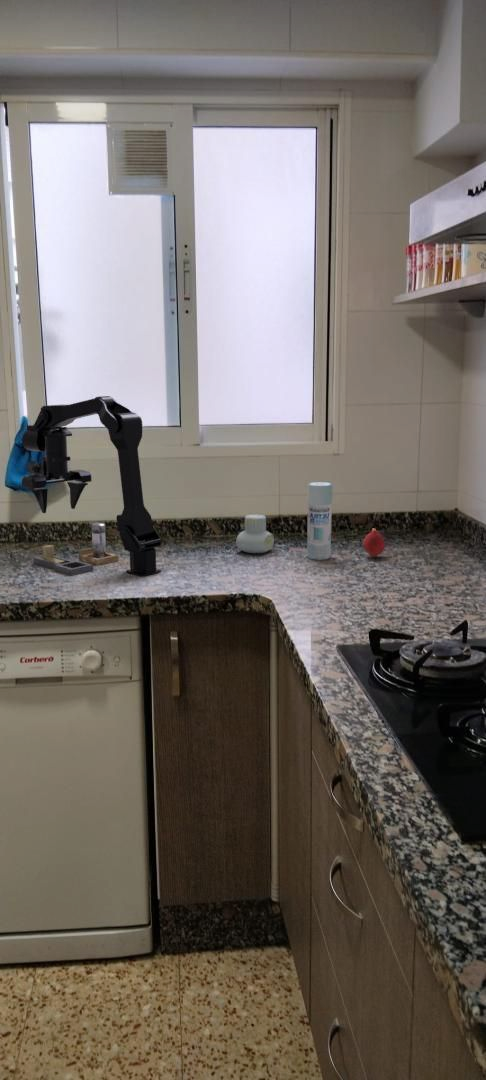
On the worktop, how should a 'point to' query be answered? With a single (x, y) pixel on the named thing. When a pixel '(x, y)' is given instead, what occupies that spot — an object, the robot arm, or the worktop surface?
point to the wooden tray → (87, 557)
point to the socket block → (65, 565)
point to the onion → (374, 543)
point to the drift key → (50, 554)
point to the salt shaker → (98, 540)
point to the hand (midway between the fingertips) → (58, 510)
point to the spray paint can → (319, 520)
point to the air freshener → (255, 535)
